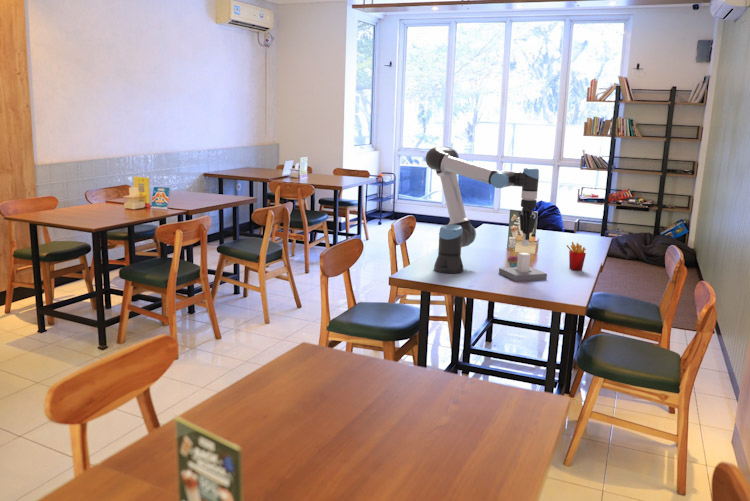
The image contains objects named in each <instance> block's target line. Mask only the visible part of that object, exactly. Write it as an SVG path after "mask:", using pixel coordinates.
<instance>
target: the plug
mask: <svg viewBox="0 0 750 501" xmlns="http://www.w3.org/2000/svg"><path fill="white" fill-rule="evenodd" d="M517 256H518V260H517V271H518V272H520V273H525V272H529V267H531V253H528V252H518V253H517Z"/></svg>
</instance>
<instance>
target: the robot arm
mask: <svg viewBox="0 0 750 501" xmlns="http://www.w3.org/2000/svg"><path fill="white" fill-rule="evenodd" d="M425 163H426V165H427V166H428V167H429V168H430V169H431V170H434V171H435V172H436V175H437V176H438V177H439V178H440V182H441V185H442V186H441V187H442V190H443V195H444V198H445V203H446V208H447V211H448V212H447V213H448V215H449V216H448V217H449V222H448V224H444V225H442V226H441V227H440V228H439V233H438V249H437V251H438V252H437V253H438V254H437V257H436V260H435V262H434V266H433V270H434V271H435V272H439V273H443V274H460V273H464V265H463V261H462V255H461V254H462V248H464V247H469V245H471V244H473V243H474V241H475V240H476V236H477V231H476V229H475V227H474V226H473V225H472V224H471V220H470V219H469V218H468V217H467V216H466V211H465V207H464V202H463V198H462V193H461V188H460V185H459V179H458V176H462V177H465V178H469V179H472V180H475V181H478V182H482V183H484V184H489V185H491V186H493V187H494V188H496V189H503V188H507V187H521V196H520V197H521V200H520V207H521V210H520V211H518V215H519V225H520V229H519V230H520V231H521V233H522V241H521V242H522V244H521V246H523V247H529V246H530V245H529V243H530V242H529V241H530V235H531V234H532V233H533V232H534V228H535V223H536V219H537V217H538V215H537V214H535V208H536V207H537V203H538V202H537V199H538V186H539V179H540V176H539V173H540V171H539V169H538V168H536V167H524V168H523V171H518V170H508V169H506V170H505V169H504V170H501V171H500V170H497V169H494V168H491V167H487V166H484V165H481V164H478V163H474V162H471V161H467V160H463V159H461V158H460V156H459V153H458V152H457V150H456V149H454V148H453V147H450V146H439V147H438V146H437V147H432V148H430V149H429V150H428V151H427V152H426V155H425ZM457 175H458V176H457Z"/></svg>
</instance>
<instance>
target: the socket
mask: <svg viewBox="0 0 750 501" xmlns="http://www.w3.org/2000/svg"><path fill="white" fill-rule="evenodd" d="M498 269H499V270H498V274H499V275H501V276H503V277H505V278H508V279H509V280H511V281H514V282H526V281H527V282H528V281H542V280H543V281H544V280H547V278H548V273H547V272H544V271H541V270H538V269H536V268H535V267H532V266H530V267H529V272H525V273H520V272H518V271H517V267H510V266H509V267H499V268H498Z"/></svg>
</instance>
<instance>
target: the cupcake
mask: <svg viewBox="0 0 750 501" xmlns="http://www.w3.org/2000/svg"><path fill="white" fill-rule="evenodd" d="M512 253H513V255H510V256H508V258H507V262H508V264H509V267H517V260H518V255H515V247H514V246H513V247H512Z"/></svg>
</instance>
